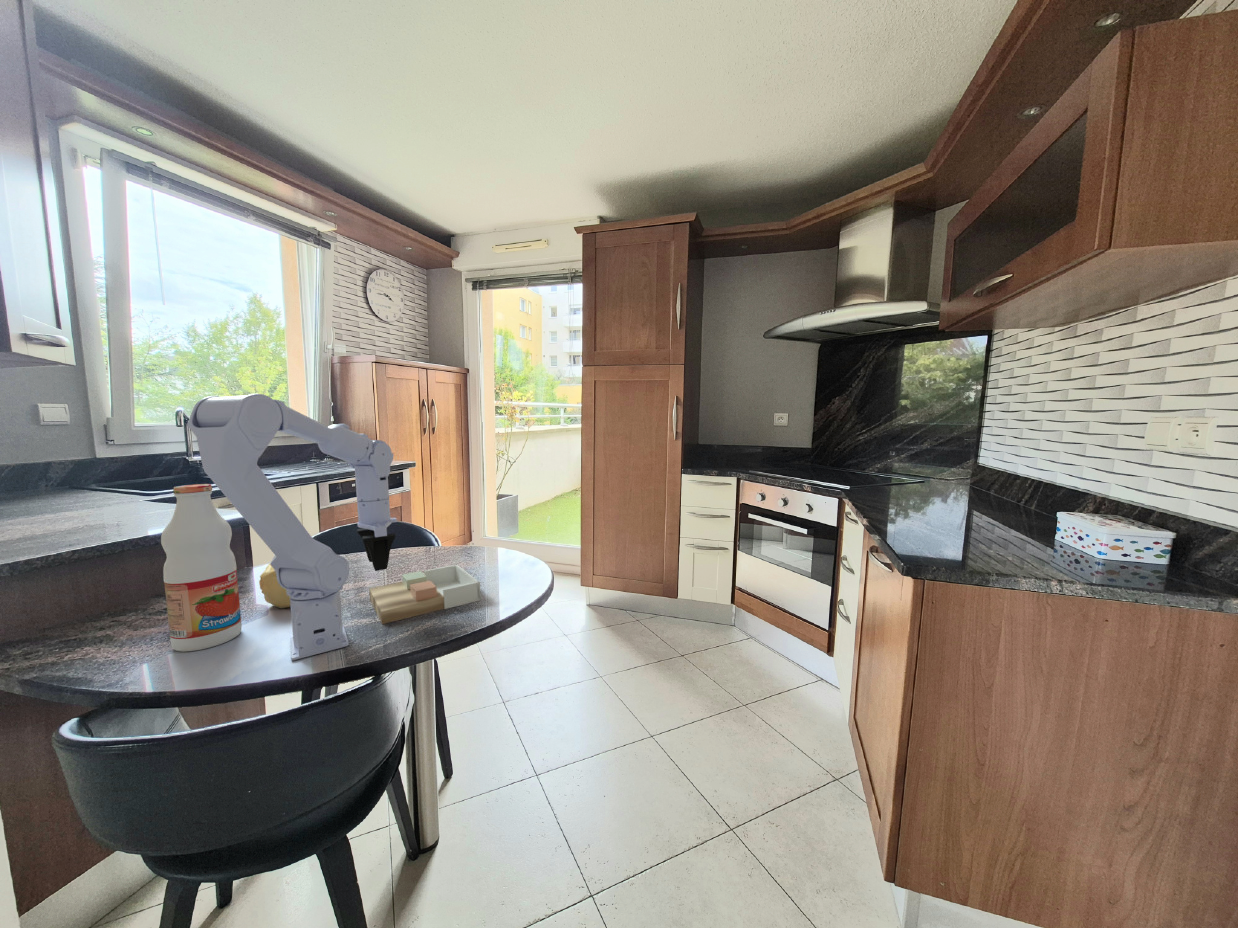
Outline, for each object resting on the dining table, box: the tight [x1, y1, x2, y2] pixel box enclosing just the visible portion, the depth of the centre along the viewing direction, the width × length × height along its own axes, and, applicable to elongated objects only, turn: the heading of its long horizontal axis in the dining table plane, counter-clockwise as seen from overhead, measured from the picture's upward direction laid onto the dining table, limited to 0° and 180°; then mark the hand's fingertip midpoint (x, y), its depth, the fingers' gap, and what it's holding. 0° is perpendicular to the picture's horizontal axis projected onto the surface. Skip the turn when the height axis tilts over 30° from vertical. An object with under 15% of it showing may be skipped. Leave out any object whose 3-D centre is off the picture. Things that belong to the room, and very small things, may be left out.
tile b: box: [401, 570, 427, 589], centre depth 100 cm, size 5×4×2 cm
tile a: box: [410, 581, 437, 601], centre depth 93 cm, size 5×4×2 cm
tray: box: [423, 564, 482, 610], centre depth 100 cm, size 16×8×4 cm, turn 36°
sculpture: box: [258, 563, 291, 609], centre depth 97 cm, size 12×12×11 cm
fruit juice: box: [160, 483, 243, 653], centre depth 79 cm, size 9×9×28 cm
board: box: [368, 580, 445, 625], centre depth 95 cm, size 16×12×2 cm
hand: (377, 565), depth 91 cm, fingers open, 7 cm apart
